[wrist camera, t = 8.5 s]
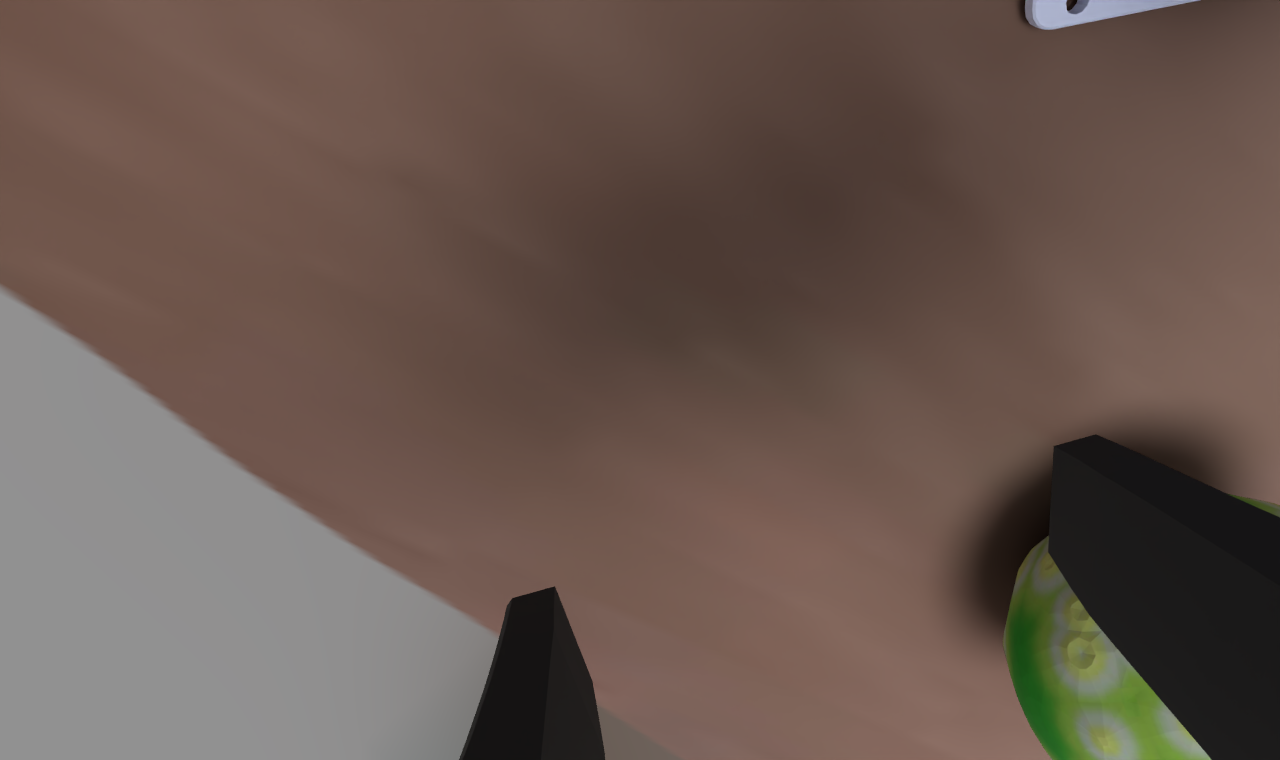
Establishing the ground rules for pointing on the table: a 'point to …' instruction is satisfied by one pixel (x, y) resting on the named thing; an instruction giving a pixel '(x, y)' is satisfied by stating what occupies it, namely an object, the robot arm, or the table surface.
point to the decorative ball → (1084, 675)
